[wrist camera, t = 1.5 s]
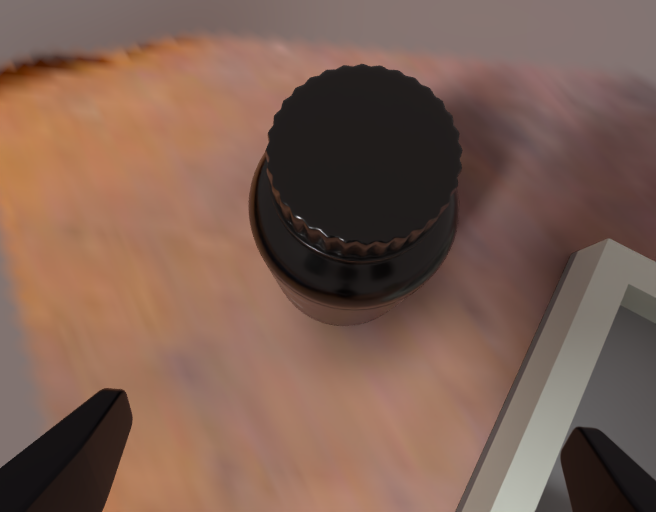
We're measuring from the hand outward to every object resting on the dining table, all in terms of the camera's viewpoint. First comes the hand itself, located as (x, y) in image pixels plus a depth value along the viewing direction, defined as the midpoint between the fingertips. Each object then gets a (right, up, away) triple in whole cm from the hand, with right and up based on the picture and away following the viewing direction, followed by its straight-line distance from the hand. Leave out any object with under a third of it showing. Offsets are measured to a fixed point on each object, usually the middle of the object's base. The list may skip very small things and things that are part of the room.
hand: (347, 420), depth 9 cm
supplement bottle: (0, +3, +14) cm, 14 cm away
